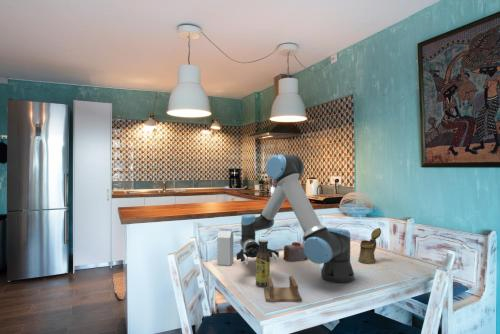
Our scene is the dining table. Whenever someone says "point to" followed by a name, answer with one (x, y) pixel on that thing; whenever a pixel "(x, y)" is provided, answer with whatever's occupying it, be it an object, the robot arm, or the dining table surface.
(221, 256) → the milk carton
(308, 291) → the dining table surface
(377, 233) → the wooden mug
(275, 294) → the walnut slotted rack
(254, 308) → the dining table surface
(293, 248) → the food item
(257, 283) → the sauce bottle
